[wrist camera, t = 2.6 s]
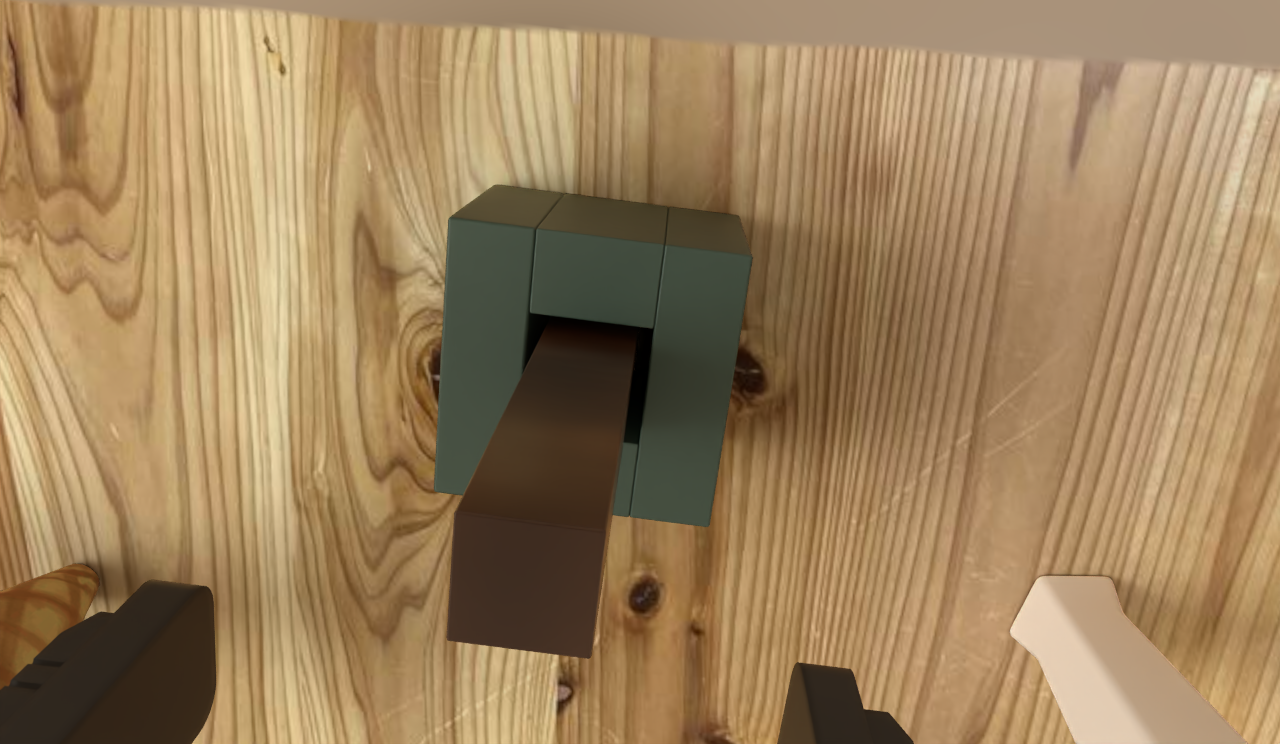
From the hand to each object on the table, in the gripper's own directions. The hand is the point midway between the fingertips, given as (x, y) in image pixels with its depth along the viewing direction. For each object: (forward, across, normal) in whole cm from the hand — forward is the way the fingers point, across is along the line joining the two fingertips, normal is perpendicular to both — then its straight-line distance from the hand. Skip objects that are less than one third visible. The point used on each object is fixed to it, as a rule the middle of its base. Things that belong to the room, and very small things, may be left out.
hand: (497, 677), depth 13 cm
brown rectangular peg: (+18, 0, 0) cm, 18 cm away
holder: (+18, 0, 0) cm, 18 cm away
